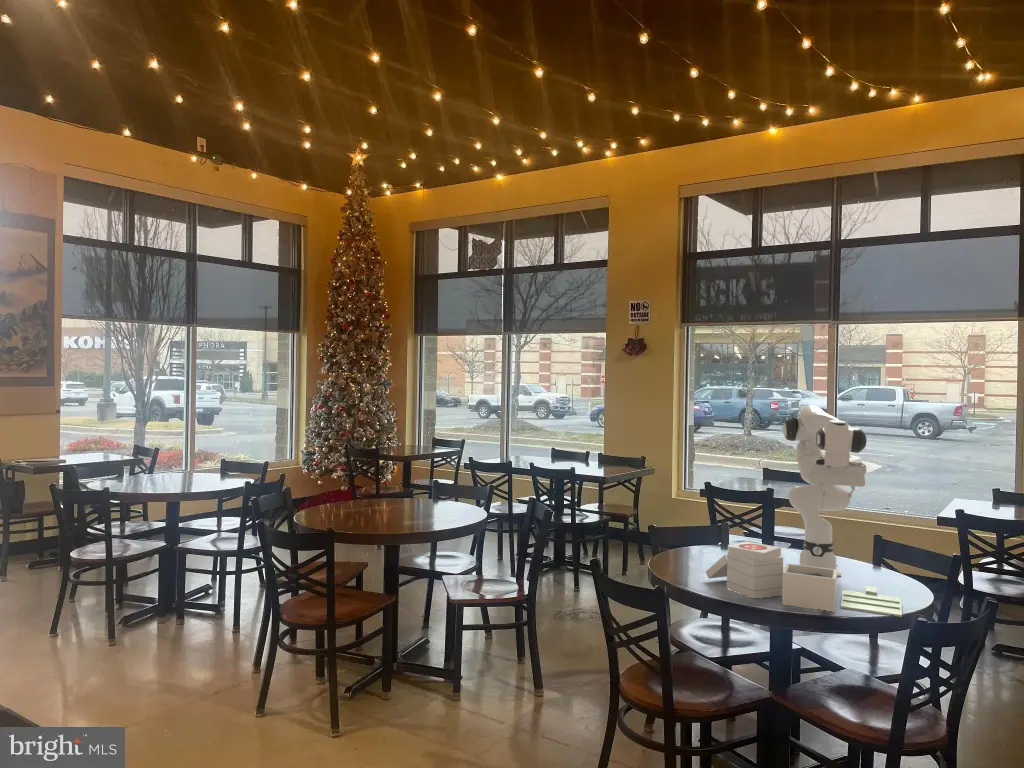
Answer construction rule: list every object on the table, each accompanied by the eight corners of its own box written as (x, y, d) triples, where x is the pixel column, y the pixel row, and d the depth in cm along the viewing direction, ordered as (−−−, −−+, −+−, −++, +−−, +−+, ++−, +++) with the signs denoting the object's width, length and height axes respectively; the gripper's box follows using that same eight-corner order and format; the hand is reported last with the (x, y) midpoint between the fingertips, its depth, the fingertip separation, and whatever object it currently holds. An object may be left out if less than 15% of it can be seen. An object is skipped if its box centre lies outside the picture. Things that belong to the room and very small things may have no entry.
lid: (843, 591, 283) (843, 582, 283) (900, 599, 274) (900, 590, 274) (840, 612, 262) (840, 603, 262) (902, 621, 253) (902, 612, 253)
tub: (786, 593, 280) (787, 563, 280) (836, 600, 271) (837, 569, 272) (782, 604, 265) (782, 572, 265) (834, 612, 257) (835, 579, 257)
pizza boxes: (736, 577, 303) (737, 535, 304) (790, 596, 276) (791, 550, 276) (700, 581, 296) (701, 538, 296) (752, 601, 268) (753, 553, 268)
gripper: (866, 462, 278) (865, 497, 278) (810, 459, 287) (809, 493, 287) (866, 463, 272) (865, 499, 272) (809, 460, 281) (808, 495, 281)
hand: (836, 496), depth 279 cm, fingers open, 8 cm apart
